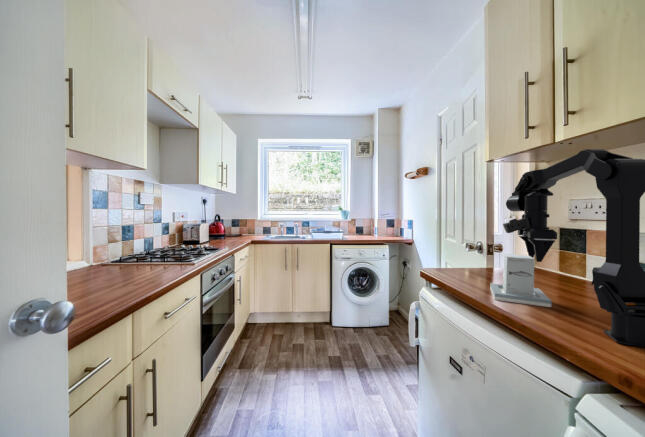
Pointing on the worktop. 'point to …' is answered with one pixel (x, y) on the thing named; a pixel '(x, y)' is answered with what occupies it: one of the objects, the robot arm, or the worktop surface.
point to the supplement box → (518, 275)
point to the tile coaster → (520, 296)
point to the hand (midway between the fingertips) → (534, 259)
